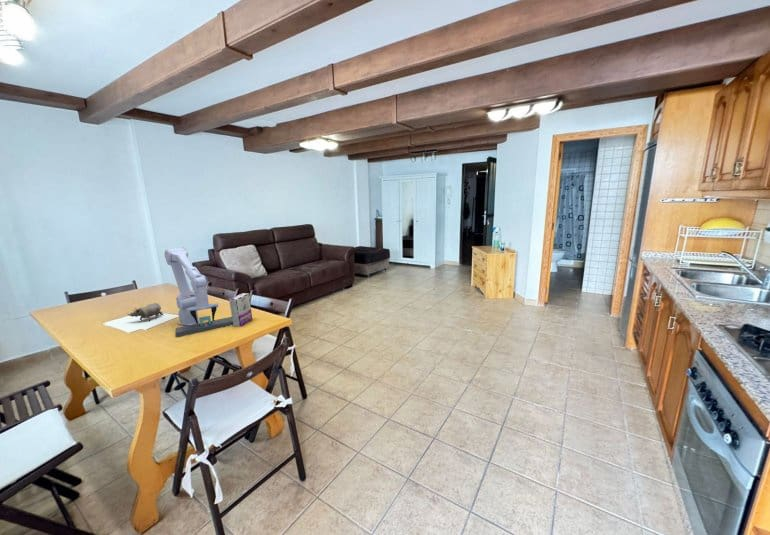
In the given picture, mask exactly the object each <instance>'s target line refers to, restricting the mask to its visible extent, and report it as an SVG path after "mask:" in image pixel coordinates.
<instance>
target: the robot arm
mask: <svg viewBox="0 0 770 535" xmlns="http://www.w3.org/2000/svg"><path fill="white" fill-rule="evenodd" d="M164 259H165V260H166V263H167V265H169V266H170V267H171V269H172V272H173V275H174V278H175V282H176V284H177V288H178V290H179V294H178V295H177V296H176V298H175V300H176V306H177V308H178V309H179V310H178V311H177V312H178V319H179V323H178V325H183V326H188V325H193V324H198V323H200V320H199V314H198V311H202V310H203V311H204V310H208V309H210V310H211V321H214V320H215V314H216V313H217V312H216V311H217V308H219V303H218V302H217V303H215V302H214V303H209V297H208V289H207V287H208V284H209V281H208V280H209V279H208V278H207V277H206V275H204V274H201V272H200V271H199V269H198V268H197V267H196V266H193V265H192V263H191V261H190V259H189V251H188V249H187V248H186V247H184V246H183V247H178V248H177V247H176V248H170V249H169V248H167V249H165V250H164ZM184 269H185V271H184ZM186 276H187V277H188V279H189V280H190V286H191V287H192V290H191V289H190V286H189V283H188V280H187V277H186Z"/></svg>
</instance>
